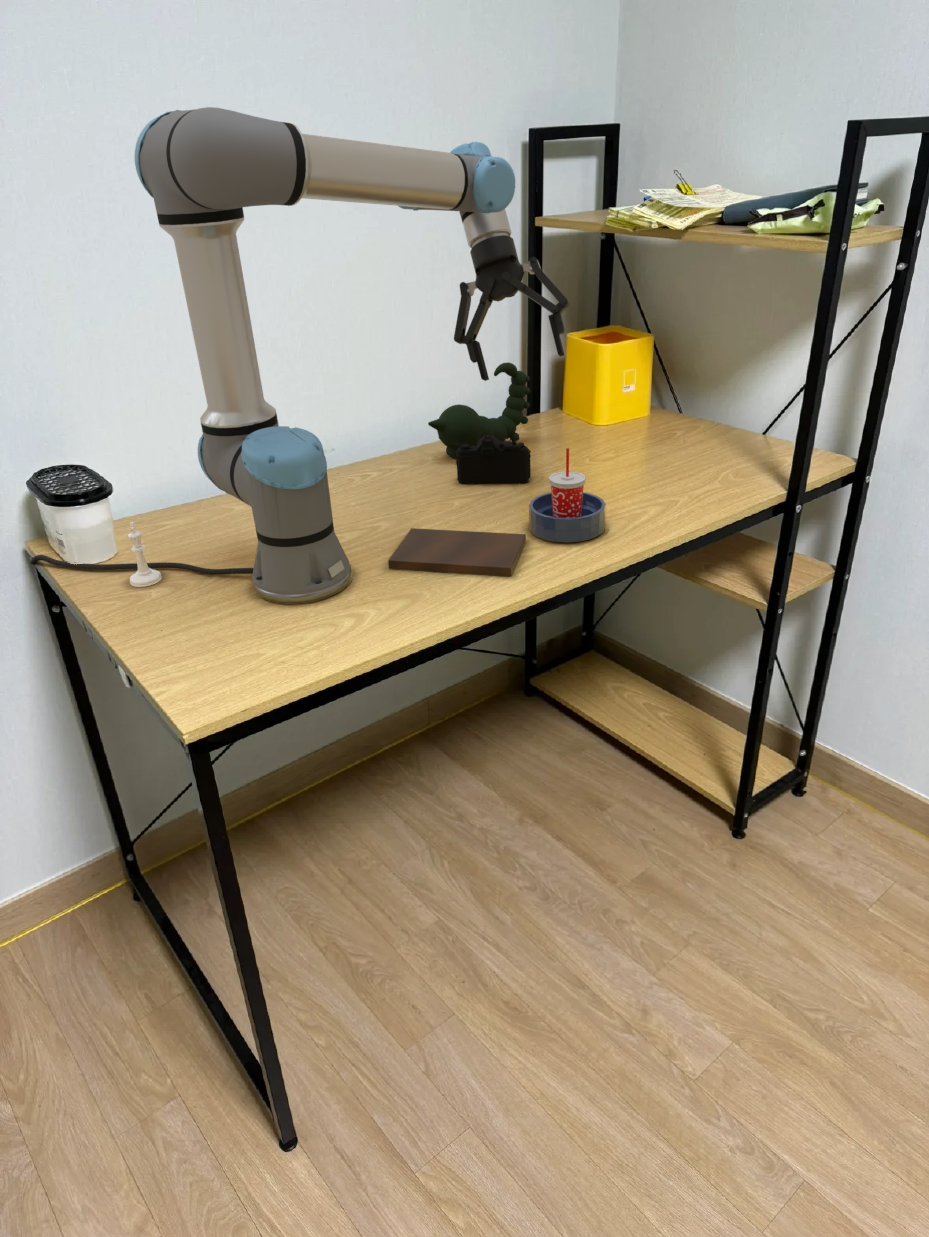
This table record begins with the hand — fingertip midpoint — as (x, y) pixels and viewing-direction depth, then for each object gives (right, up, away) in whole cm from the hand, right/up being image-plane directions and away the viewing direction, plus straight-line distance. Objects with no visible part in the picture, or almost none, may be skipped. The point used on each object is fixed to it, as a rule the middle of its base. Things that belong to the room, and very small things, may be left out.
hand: (522, 367), depth 149 cm
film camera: (-4, -15, +26) cm, 30 cm away
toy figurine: (-6, -7, +40) cm, 41 cm away
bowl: (+8, -27, +2) cm, 28 cm away
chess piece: (-61, -37, -8) cm, 72 cm away
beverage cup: (+8, -27, +2) cm, 28 cm away
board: (-11, -32, -5) cm, 35 cm away
